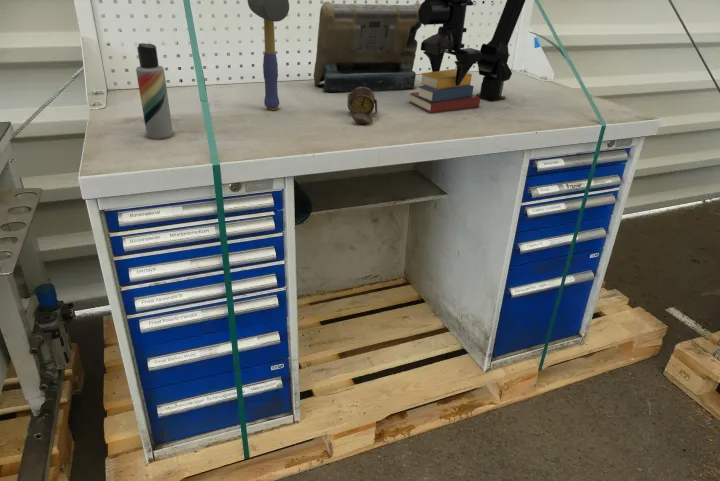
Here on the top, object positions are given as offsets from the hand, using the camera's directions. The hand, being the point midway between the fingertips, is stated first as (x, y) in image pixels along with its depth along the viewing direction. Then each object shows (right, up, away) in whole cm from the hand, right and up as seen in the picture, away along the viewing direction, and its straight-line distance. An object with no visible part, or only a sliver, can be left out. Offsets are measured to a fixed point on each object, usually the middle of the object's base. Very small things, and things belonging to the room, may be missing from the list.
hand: (446, 81), depth 150 cm
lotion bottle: (-71, -21, -29) cm, 80 cm away
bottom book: (0, -6, +3) cm, 7 cm away
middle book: (0, -4, 0) cm, 4 cm away
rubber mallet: (-49, -10, -8) cm, 50 cm away
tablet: (-23, +3, +17) cm, 28 cm away
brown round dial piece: (-25, -13, -11) cm, 30 cm away
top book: (0, -1, 0) cm, 1 cm away
